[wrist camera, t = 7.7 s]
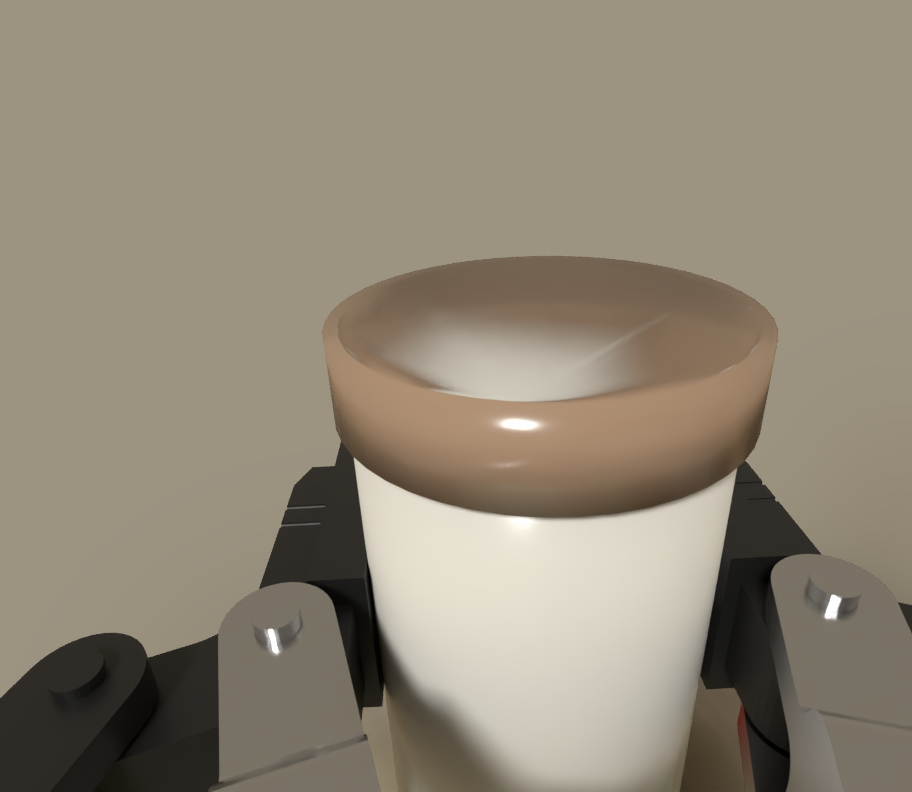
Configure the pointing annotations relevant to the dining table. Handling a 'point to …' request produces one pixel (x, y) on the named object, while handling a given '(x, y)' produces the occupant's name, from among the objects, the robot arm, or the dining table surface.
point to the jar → (545, 508)
